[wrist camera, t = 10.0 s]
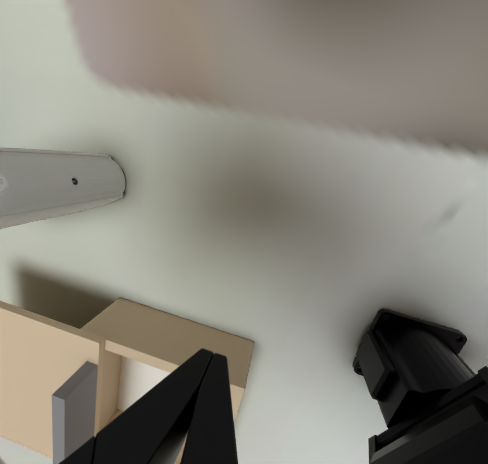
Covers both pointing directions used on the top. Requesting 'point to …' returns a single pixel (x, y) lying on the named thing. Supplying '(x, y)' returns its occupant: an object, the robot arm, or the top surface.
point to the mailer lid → (48, 382)
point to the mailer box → (157, 354)
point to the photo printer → (54, 184)
